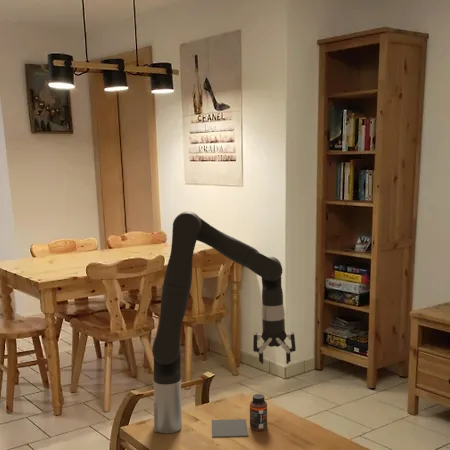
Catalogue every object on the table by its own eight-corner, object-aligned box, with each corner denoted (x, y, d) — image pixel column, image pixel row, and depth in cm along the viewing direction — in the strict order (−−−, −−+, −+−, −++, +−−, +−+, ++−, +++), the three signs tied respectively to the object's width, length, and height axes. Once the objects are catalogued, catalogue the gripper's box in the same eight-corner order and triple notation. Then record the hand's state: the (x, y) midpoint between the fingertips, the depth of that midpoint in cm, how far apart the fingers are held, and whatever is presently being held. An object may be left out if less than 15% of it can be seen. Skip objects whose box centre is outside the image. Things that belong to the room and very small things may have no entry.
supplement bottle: (266, 432, 189) (265, 400, 188) (248, 431, 190) (248, 399, 189) (268, 424, 195) (268, 393, 194) (251, 423, 196) (251, 392, 195)
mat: (212, 437, 186) (212, 436, 186) (211, 421, 198) (211, 420, 198) (248, 436, 187) (248, 435, 187) (245, 420, 198) (245, 419, 198)
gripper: (251, 320, 186) (253, 367, 188) (294, 319, 185) (296, 367, 186) (252, 314, 194) (254, 359, 195) (294, 313, 192) (295, 359, 194)
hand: (275, 363), depth 191 cm, fingers open, 8 cm apart
